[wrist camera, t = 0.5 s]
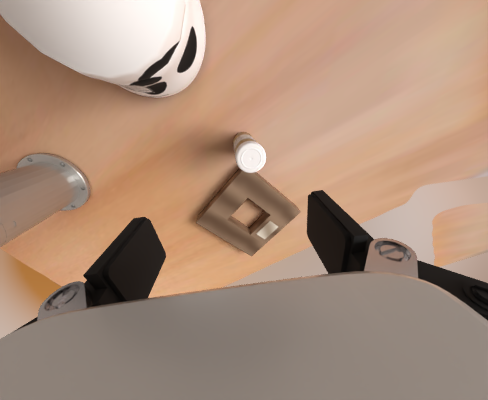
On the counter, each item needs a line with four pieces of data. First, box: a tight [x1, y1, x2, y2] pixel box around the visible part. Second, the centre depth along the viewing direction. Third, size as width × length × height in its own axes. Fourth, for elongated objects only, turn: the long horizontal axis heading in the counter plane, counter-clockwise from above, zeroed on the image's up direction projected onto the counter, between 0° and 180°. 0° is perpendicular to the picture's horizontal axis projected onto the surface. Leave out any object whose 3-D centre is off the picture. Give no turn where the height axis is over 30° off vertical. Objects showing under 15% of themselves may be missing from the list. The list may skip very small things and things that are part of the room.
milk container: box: [0, 0, 206, 98], centre depth 21 cm, size 17×17×18 cm
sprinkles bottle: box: [233, 132, 266, 173], centre depth 32 cm, size 5×5×13 cm
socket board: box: [196, 168, 300, 256], centre depth 45 cm, size 18×18×3 cm
